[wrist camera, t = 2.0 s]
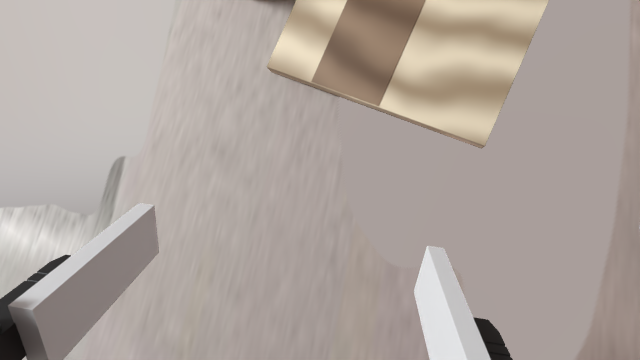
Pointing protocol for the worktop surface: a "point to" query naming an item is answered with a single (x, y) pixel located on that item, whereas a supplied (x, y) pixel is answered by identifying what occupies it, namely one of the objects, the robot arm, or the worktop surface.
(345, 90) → the board
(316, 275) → the worktop surface
